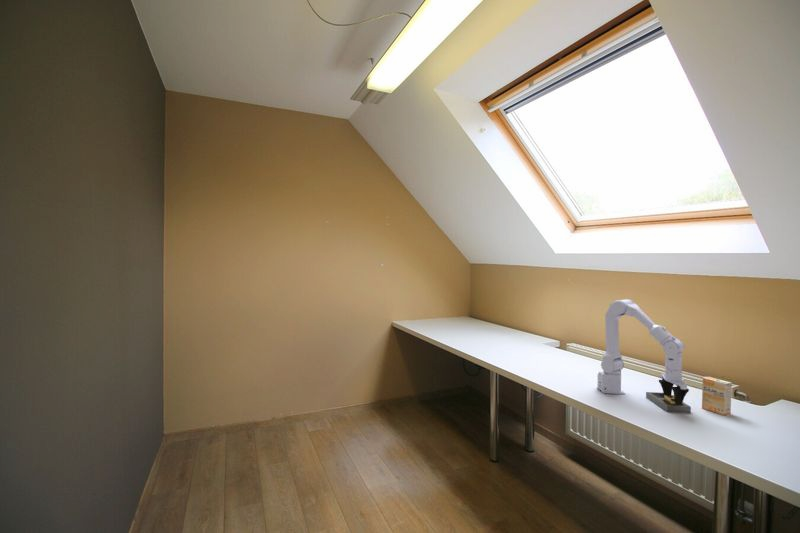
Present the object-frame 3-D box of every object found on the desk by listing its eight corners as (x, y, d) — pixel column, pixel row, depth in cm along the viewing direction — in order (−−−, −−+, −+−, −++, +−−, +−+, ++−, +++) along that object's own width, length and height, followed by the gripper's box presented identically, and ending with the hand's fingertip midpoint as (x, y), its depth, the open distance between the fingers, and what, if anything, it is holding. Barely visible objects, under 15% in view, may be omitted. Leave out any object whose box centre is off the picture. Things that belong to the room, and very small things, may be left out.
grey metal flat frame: (666, 411, 154) (667, 405, 154) (646, 397, 170) (646, 392, 170) (690, 412, 153) (690, 406, 153) (667, 398, 169) (667, 392, 169)
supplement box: (701, 408, 158) (701, 377, 158) (708, 406, 160) (708, 376, 160) (724, 416, 150) (725, 383, 150) (731, 414, 152) (732, 381, 152)
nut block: (670, 410, 156) (670, 398, 156) (664, 406, 160) (664, 394, 160) (681, 411, 155) (682, 398, 155) (675, 406, 160) (675, 395, 160)
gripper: (695, 374, 150) (694, 408, 150) (673, 364, 164) (672, 394, 165) (676, 373, 151) (675, 407, 151) (655, 363, 165) (655, 394, 165)
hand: (672, 400), depth 158 cm, fingers open, 7 cm apart
